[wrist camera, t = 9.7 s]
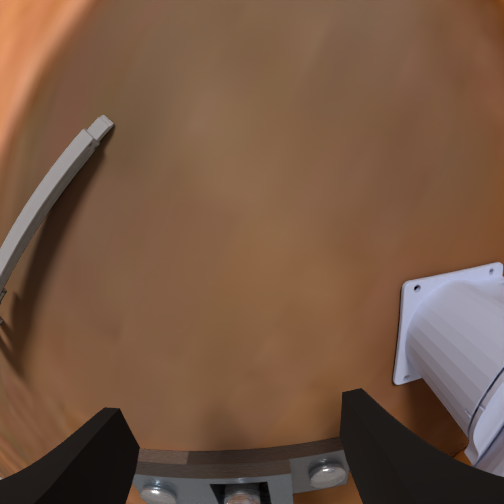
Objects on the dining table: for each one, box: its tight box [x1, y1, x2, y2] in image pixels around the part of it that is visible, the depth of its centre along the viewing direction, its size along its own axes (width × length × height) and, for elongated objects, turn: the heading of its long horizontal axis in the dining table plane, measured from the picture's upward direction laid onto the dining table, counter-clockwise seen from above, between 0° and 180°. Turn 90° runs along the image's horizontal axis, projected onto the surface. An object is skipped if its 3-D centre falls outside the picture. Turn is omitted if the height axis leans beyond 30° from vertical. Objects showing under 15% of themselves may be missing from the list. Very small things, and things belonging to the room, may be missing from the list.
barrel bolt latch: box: [132, 437, 349, 504], centre depth 19 cm, size 18×6×4 cm, turn 97°
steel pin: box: [224, 482, 260, 504], centre depth 18 cm, size 3×3×7 cm
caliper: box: [0, 115, 114, 324], centre depth 14 cm, size 20×1×6 cm, turn 137°
